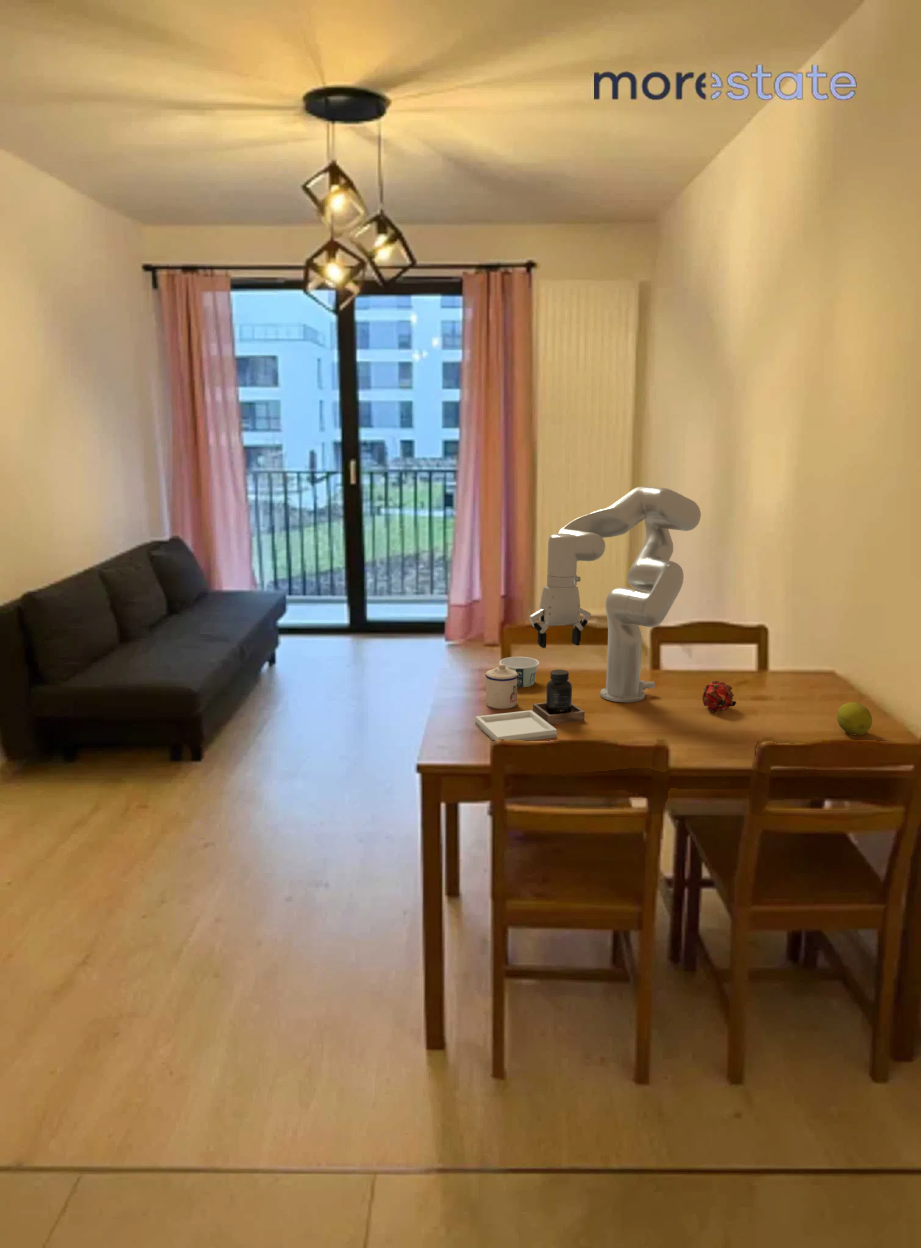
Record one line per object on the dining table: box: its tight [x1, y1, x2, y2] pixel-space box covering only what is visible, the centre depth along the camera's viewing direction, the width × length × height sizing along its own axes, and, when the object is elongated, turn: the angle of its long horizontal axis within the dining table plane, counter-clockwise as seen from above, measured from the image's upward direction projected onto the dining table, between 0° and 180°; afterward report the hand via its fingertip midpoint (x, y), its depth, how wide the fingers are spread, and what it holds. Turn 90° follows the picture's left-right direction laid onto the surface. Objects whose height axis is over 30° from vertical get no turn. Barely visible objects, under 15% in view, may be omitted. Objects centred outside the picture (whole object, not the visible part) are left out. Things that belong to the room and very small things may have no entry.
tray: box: [474, 709, 558, 741], centre depth 235 cm, size 16×16×2 cm
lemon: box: [836, 701, 873, 736], centre depth 233 cm, size 11×8×8 cm
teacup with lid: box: [485, 663, 518, 710], centre depth 256 cm, size 12×9×12 cm
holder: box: [532, 702, 586, 726], centre depth 245 cm, size 10×10×2 cm
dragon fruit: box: [701, 680, 737, 714], centre depth 251 cm, size 8×8×12 cm
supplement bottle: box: [545, 669, 573, 715], centre depth 244 cm, size 7×7×12 cm
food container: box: [499, 656, 540, 688], centre depth 275 cm, size 12×12×6 cm
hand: (559, 645), depth 241 cm, fingers open, 9 cm apart
